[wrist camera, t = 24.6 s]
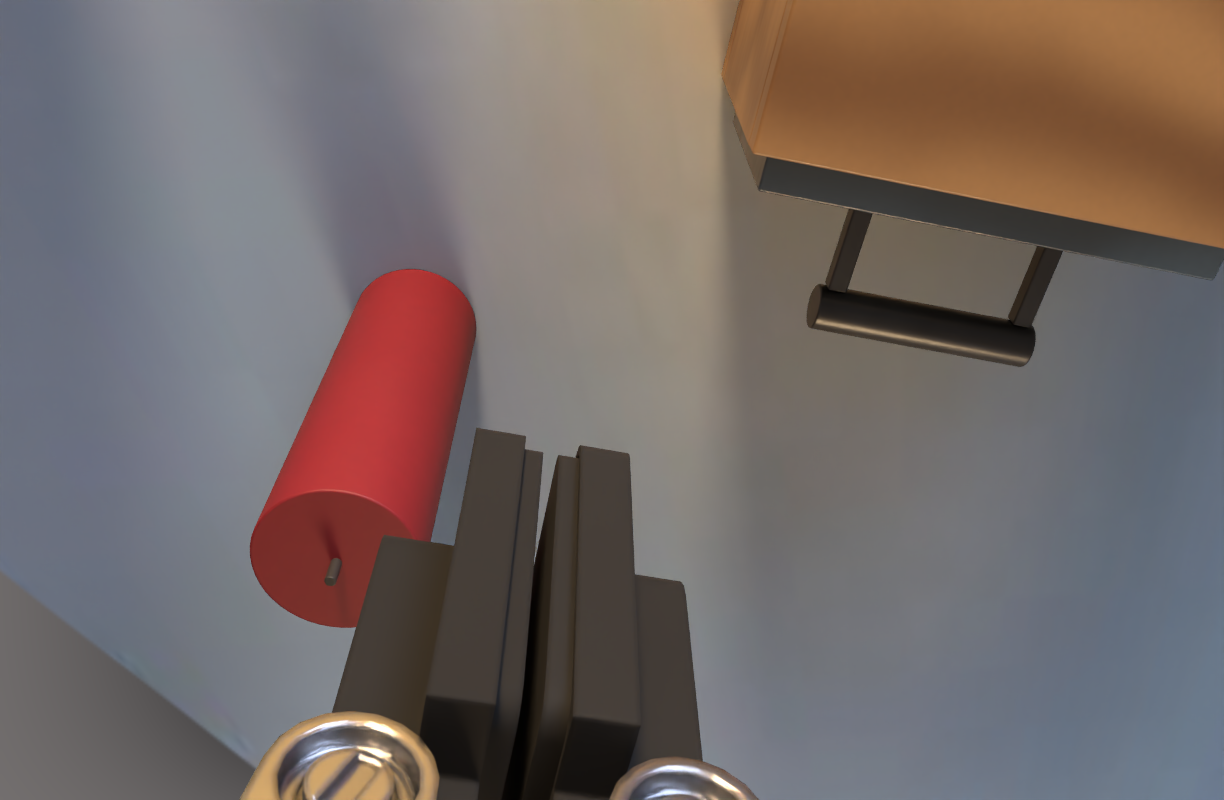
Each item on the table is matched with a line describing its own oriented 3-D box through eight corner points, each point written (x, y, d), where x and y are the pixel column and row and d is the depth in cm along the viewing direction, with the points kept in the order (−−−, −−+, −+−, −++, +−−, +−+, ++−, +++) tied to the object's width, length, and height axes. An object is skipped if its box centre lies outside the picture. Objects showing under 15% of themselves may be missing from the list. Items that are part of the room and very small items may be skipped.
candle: (384, 392, 42) (289, 666, 29) (334, 289, 40) (208, 536, 27) (494, 358, 42) (445, 624, 29) (448, 252, 40) (375, 488, 27)
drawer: (1063, 325, 40) (1143, 422, 34) (697, 255, 39) (715, 344, 33) (1319, -254, 31) (1487, -259, 25) (859, -372, 30) (923, -405, 24)
